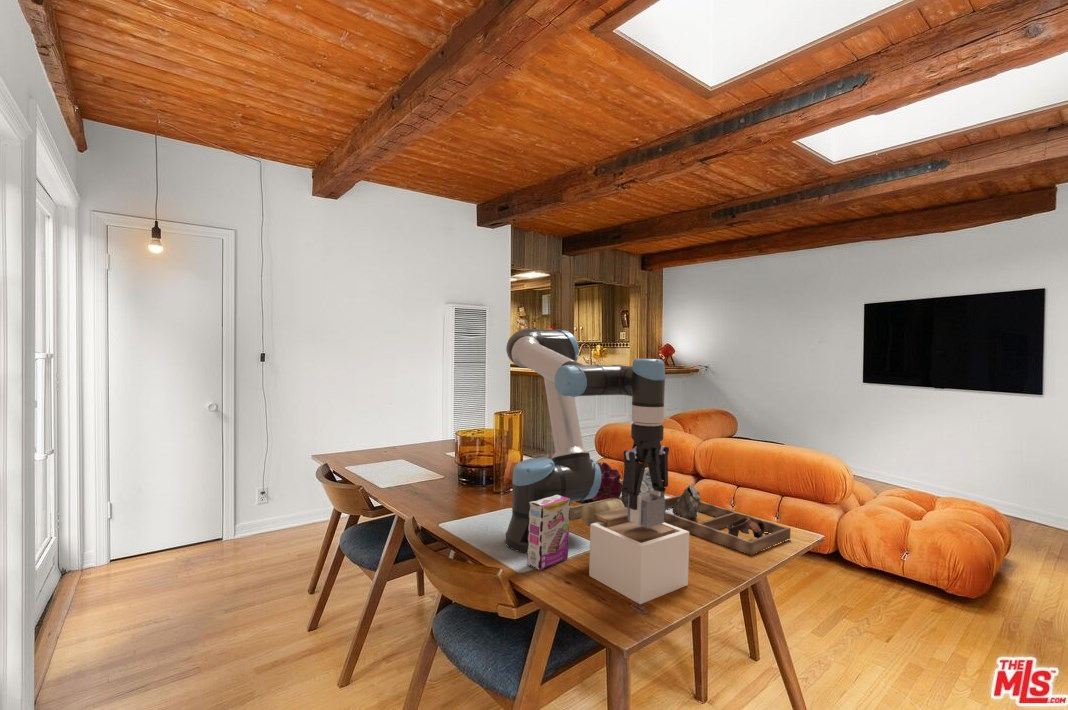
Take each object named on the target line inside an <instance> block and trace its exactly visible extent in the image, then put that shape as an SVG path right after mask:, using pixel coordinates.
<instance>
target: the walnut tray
mask: <svg viewBox="0 0 1068 710" xmlns="http://www.w3.org/2000/svg"><path fill="white" fill-rule="evenodd" d="M681 495H682V494H681ZM681 495H680V494H679V495H675V496H671V497H667V498H666V497H665V501H666V509H667V510H669V509H668V508H671V509H673V508H672V507H673V506H674V505H675V503H676V501H677V500H678V499H680V498H681ZM698 511H700V512H699V513H701V512H703V513H702V514H705V515H708V516H711V517H714V516H715V517H714V518H709V519H707V520H704V521H700V522H697V521H693V520H691V519H685V518H682V517H680V516H678V515H677V514H673V513H670V512H666V511H665V514H666V519H665V523H667V524H670V525H673V526H676V527H678V528H681V529H684V530H686V531H689V534H690V535H694V536H697V537H699V538H702V539H706V540H708V541H710V542H713V543H715V542H716V544H718V543H719V545H721V544H722V546H724V545H725V546H724V547H726V546H727V548H729V547H730V549H732V548H733V549H732V550H734V549H736V550H735V551H737V550H739V551H738V552H740V551H741V553H742V552H744V553H743V554H745V553H747V554H746V555H748V554H750V555H749V556H751V555H752V554H754V553H756V552H759V551H761V550H763V549H766V548H768V547H770V546H773V545H775V544H778V543H780V542H783V541H785V540H787V539H790V540H791V527H788V526H784V525H780V524H777V523H774V522H770V521H767V520H764V519H761V518H757V517H754V516H751V515H747V514H744V513H741V512H738V511H734V510H731V509H728V508H724V507H721V506H717V505H715V504H711V503H708V502H705V501H702V500H700V505H699V508H698V510H697V512H698ZM745 517H749V518H750V520H751V521H754V520H757V519H759V520H761V521H762V522H763V523H764V525H765V530H764V532H768V533H771V534H764V535H763V537H760V538H755V539H752V540H748V539H746V538H743V537H740V536H738V537H737V536H734V535H731V534H728V533H729V532H728V533H727V532H725V531H722V529H725V528H727V526H729V525H730V524H732V526H734V525H733V522H735V521H737V520H739V519H742V518H745ZM748 527H749V526H748ZM721 528H722V529H721ZM759 553H760V552H759ZM754 555H755V554H754ZM752 556H753V555H752Z"/></svg>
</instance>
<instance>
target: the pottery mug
mask: <svg viewBox="0 0 1068 710" xmlns="http://www.w3.org/2000/svg"><path fill="white" fill-rule="evenodd" d="M759 519H760V518H758V519H757V520H754V521H751V520H750V518H749V517H745V518H742V519H739V520H737V521H735V522H733V524H734V525H732V524H730V525H729V526H728V527H726V529H727V530H728V534H731V535H734V536H737V537H739V533H742V534H745V535H749V534H750V532H749V529H751V531H752V534H753V537H754V538H755V539H757V538H760V537H763V536H764V535H763V534H765V533H764V530H765V525H764V523H763V522H762V521H761V520H762V519H761V520H759ZM748 526H749V527H750V528H748Z"/></svg>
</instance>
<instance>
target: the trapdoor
mask: <svg viewBox="0 0 1068 710" xmlns="http://www.w3.org/2000/svg"><path fill="white" fill-rule="evenodd" d="M581 517H582V518H581V519H582V522H583V523H584V524H585V525H586V526H588V527H590V524H592V523H596V522H600V521H604V522H606V523H607V526H604V527H605V528H608V529H610V530H612V531H615V532H617V533H619V534H621V535H624V536H626V537H628V538H631V539H633V540H635V541H638V542H640V543H643V542H646V541H649V540H653V539H656V538H659V537H663V536H666V535H669V534H672V533H674V529H671V528H669V527H666V526H663V525H661V524H658V525H655V526H651V527H648V528H646V527H644V526H641V525H638V524H636V523H633V522H630V521H628V508H626V507H624V504H623V503H622V501H621V500H619V499H613V500H608V501H604V502H599V503H595V504H590V505H586V506H583V508H582V510H581Z"/></svg>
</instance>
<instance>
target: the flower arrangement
mask: <svg viewBox="0 0 1068 710" xmlns="http://www.w3.org/2000/svg"><path fill="white" fill-rule="evenodd" d="M597 464H598V465H599V467H600V470H601V485H600V488H599V490H598V493H597V494H596V495H595V496H594V497H593V498H591V499H586V500H583V501H582V502H583V503H584V504H587V503H591V502H596V501H600V500H605V499H610V498H612V499H613V498H618V499H619V497H620V496H622V483H620V482H619V481H620V479H621V476H622V475H621V474H620V473H619V470H618V469H614V468H613V469H612V467H611V465H610V464H608V463H607V462H602V463H601V462H597Z"/></svg>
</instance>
